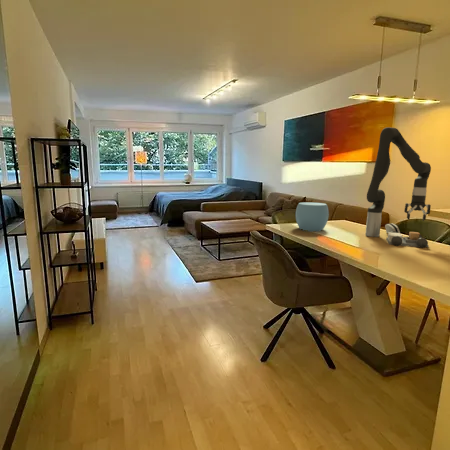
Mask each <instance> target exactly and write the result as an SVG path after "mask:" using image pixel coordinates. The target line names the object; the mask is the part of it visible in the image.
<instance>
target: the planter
mask: <svg viewBox="0 0 450 450" xmlns="http://www.w3.org/2000/svg"><path fill="white" fill-rule="evenodd" d="M329 216H330V211H329V206H328V204H327V203H324V202H311V201H310V202H306V201H305V202H304V201H303V202H298V204H297V206H296V209H295V221H296V224H297V226H298V228H299V230H301V229H303V230H302V231H304V230H308V231H307V232H313V231H316V232H322V231H323V230H324V229H325V227H326V225H327V223H328V222H329ZM321 230H322V231H321Z"/></svg>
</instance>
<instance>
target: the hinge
mask: <svg viewBox="0 0 450 450" xmlns="http://www.w3.org/2000/svg"><path fill="white" fill-rule="evenodd" d="M384 227H385V232H386V234H387V233H388V232H390V231H395V232H397V233H400V234H401V232H400V229H399V226H398V225H396V224H395V223H386V224H385V225H384ZM403 237H404V236H403ZM403 237H402V239H403Z"/></svg>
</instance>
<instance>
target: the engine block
mask: <svg viewBox="0 0 450 450" xmlns="http://www.w3.org/2000/svg"><path fill="white" fill-rule="evenodd" d="M419 235H421V233H420V232H417V231H409V233H408V237H409V240H417V239H419Z"/></svg>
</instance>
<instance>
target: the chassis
mask: <svg viewBox="0 0 450 450" xmlns="http://www.w3.org/2000/svg"><path fill="white" fill-rule="evenodd" d="M402 237H403V238H402ZM385 239H386V242H387V244H388V245H392V246H396V247H398V246H402V247H403V246H405V247H414V248H415V247H416V248H421V249H423V248H424V249H425V247H428V248H429V247H430V246H429V242H428V240H427V239H426V238H424V237H422V235H421V234H420V235H419V239H417V240H409V236H403V235H402V234H401V232H400V233H397V232H395V231H390V232H388V234H387V237H386V238H385Z"/></svg>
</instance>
